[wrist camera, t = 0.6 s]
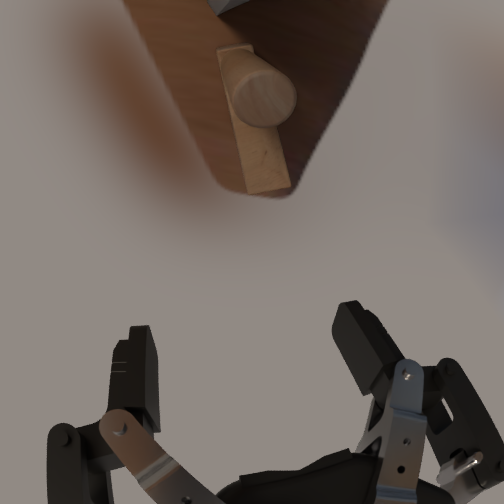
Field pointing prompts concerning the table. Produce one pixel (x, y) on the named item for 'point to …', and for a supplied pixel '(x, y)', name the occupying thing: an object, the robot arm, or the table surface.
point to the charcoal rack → (224, 5)
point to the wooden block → (257, 115)
